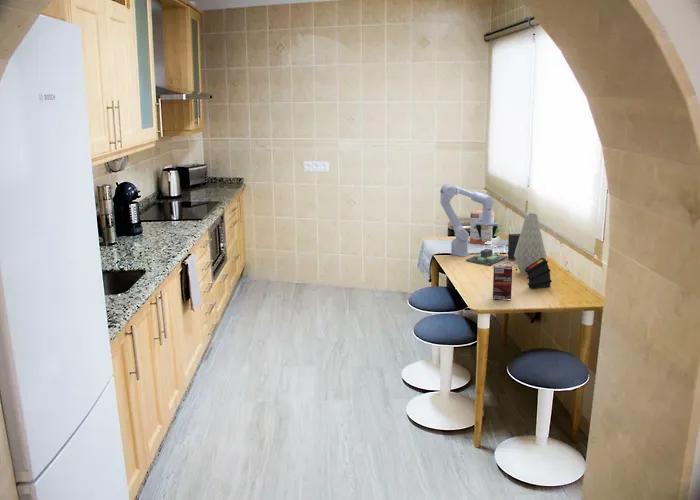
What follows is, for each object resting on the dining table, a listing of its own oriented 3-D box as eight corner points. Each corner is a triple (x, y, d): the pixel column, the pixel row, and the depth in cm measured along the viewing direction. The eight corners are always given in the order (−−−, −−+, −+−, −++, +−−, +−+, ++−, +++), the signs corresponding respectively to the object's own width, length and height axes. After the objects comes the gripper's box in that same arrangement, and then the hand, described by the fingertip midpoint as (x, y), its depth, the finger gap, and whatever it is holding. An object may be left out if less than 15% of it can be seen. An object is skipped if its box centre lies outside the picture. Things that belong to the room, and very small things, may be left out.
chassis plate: (465, 261, 360) (465, 255, 359) (483, 253, 374) (483, 248, 373) (490, 265, 350) (490, 260, 349) (507, 257, 364) (507, 252, 363)
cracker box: (469, 243, 399) (470, 211, 394) (472, 241, 404) (472, 209, 399) (491, 245, 393) (491, 213, 387) (493, 242, 398) (494, 211, 392)
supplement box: (493, 300, 296) (493, 268, 292) (492, 296, 301) (493, 265, 297) (511, 300, 295) (512, 268, 290) (510, 297, 299) (511, 265, 295)
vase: (543, 279, 323) (546, 218, 315) (510, 276, 330) (512, 216, 321) (547, 270, 338) (550, 211, 329) (516, 267, 345) (518, 210, 336)
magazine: (556, 283, 311) (546, 258, 306) (535, 296, 310) (524, 272, 305) (552, 281, 315) (542, 257, 310) (531, 294, 314) (520, 270, 308)
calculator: (526, 258, 362) (527, 233, 358) (528, 260, 358) (529, 235, 354) (507, 258, 363) (508, 233, 359) (508, 260, 359) (509, 235, 355)
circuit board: (471, 259, 360) (471, 251, 359) (484, 253, 371) (484, 246, 369) (488, 262, 352) (488, 254, 351) (501, 256, 363) (502, 249, 362)
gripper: (473, 216, 370) (473, 238, 373) (498, 217, 364) (497, 239, 368) (476, 214, 376) (475, 235, 379) (500, 215, 370) (499, 237, 374)
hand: (486, 237), depth 374 cm, fingers open, 7 cm apart
